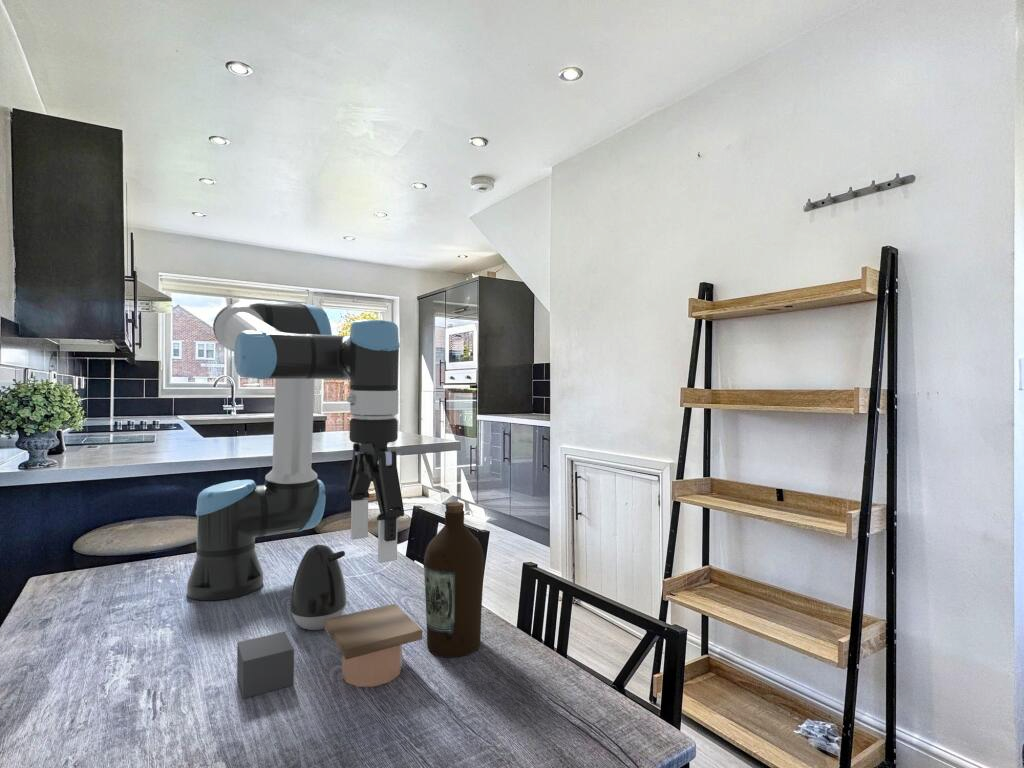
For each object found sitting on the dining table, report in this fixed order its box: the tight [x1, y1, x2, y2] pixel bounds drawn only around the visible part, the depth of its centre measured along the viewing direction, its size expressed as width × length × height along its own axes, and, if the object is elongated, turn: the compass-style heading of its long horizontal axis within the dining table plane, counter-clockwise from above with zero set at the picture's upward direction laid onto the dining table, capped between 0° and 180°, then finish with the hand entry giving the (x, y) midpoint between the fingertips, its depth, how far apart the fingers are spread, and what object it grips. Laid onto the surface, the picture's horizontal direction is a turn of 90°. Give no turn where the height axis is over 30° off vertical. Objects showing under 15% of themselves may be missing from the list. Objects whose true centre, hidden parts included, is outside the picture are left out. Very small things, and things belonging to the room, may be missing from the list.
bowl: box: [341, 645, 403, 688], centre depth 88 cm, size 9×9×6 cm
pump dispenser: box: [289, 544, 347, 631], centre depth 105 cm, size 10×10×15 cm
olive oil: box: [423, 501, 485, 658], centre depth 97 cm, size 11×11×25 cm
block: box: [236, 631, 295, 700], centre depth 85 cm, size 7×7×6 cm
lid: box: [324, 603, 423, 660], centre depth 88 cm, size 12×12×2 cm
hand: (372, 549), depth 88 cm, fingers open, 13 cm apart
